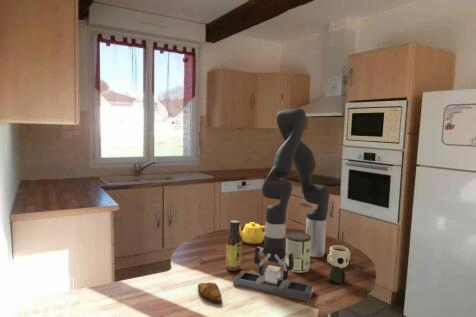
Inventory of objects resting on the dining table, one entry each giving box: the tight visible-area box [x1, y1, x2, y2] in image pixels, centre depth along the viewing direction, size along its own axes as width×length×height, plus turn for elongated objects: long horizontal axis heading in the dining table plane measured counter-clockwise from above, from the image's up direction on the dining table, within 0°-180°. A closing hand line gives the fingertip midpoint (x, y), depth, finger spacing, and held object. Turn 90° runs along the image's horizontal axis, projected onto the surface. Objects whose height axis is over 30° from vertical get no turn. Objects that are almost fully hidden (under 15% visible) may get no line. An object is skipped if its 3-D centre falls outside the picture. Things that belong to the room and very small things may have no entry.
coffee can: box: [285, 231, 311, 274], centre depth 142 cm, size 10×10×14 cm
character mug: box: [326, 245, 351, 284], centre depth 130 cm, size 11×7×13 cm, turn 113°
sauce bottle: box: [225, 219, 243, 272], centre depth 138 cm, size 7×6×20 cm
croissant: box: [197, 282, 223, 304], centre depth 115 cm, size 14×7×5 cm, turn 37°
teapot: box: [239, 221, 265, 245], centre depth 174 cm, size 14×13×10 cm
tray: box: [232, 270, 314, 302], centre depth 122 cm, size 8×28×2 cm, turn 68°
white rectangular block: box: [264, 264, 282, 287], centre depth 122 cm, size 4×4×7 cm
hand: (273, 277), depth 122 cm, fingers open, 8 cm apart
